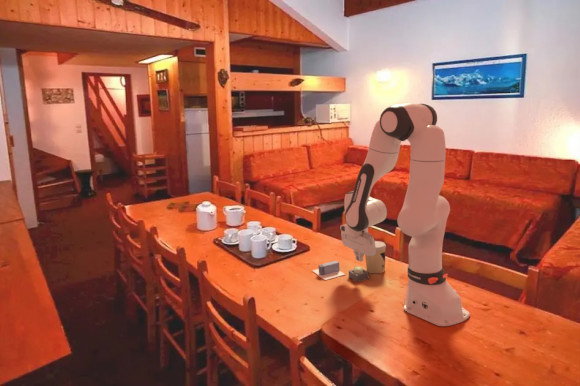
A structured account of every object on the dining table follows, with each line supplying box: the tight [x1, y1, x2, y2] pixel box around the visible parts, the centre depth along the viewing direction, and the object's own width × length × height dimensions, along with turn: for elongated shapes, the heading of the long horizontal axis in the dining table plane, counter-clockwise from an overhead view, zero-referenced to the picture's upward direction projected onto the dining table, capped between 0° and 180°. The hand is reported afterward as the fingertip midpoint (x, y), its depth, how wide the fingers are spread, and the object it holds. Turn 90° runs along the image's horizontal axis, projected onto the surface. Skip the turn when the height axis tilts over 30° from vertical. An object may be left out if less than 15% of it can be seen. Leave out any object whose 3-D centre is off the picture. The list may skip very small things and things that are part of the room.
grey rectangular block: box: [318, 260, 341, 275], centre depth 178 cm, size 9×3×4 cm, turn 114°
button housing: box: [348, 268, 370, 283], centre depth 170 cm, size 6×6×3 cm
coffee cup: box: [364, 240, 387, 274], centre depth 176 cm, size 9×9×12 cm
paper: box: [311, 268, 346, 281], centre depth 178 cm, size 12×10×1 cm
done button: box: [353, 266, 364, 274], centre depth 170 cm, size 4×4×4 cm
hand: (359, 260), depth 168 cm, fingers closed
